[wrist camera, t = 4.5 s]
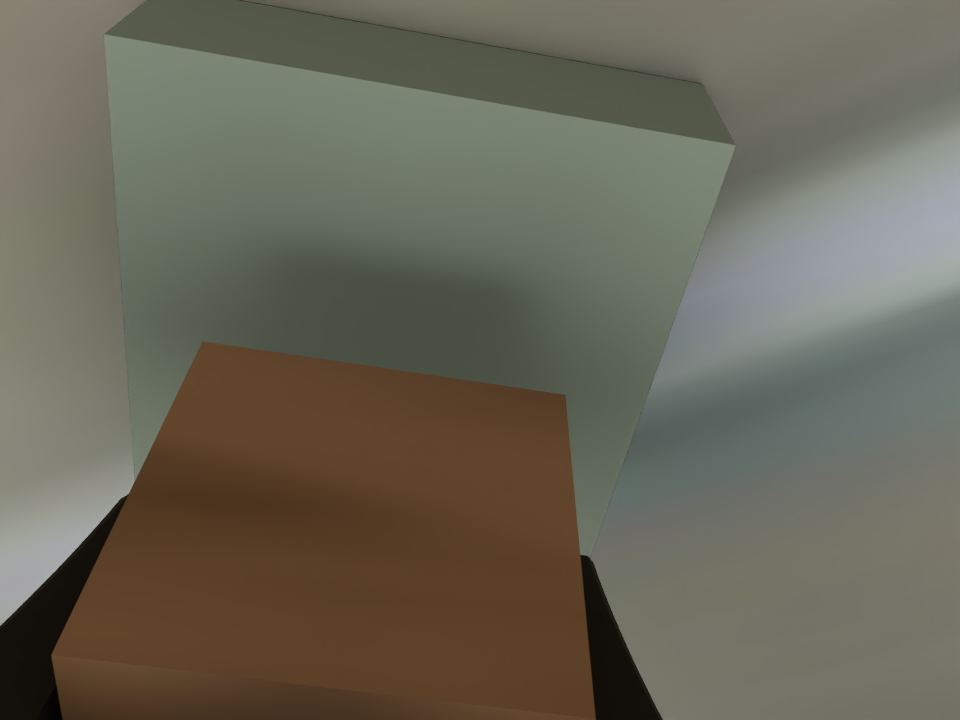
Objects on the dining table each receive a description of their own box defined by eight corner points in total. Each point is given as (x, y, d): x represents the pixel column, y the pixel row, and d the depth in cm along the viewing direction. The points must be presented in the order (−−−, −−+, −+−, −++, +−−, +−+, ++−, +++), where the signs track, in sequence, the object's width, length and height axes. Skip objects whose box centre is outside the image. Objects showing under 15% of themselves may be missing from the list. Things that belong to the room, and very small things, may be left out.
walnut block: (501, 622, 15) (499, 946, 11) (205, 585, 15) (95, 908, 11) (565, 395, 13) (595, 718, 8) (202, 340, 12) (51, 654, 8)
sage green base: (578, 471, 23) (588, 562, 20) (176, 414, 22) (136, 501, 19) (702, 84, 17) (735, 145, 15) (163, -13, 16) (104, 34, 14)
